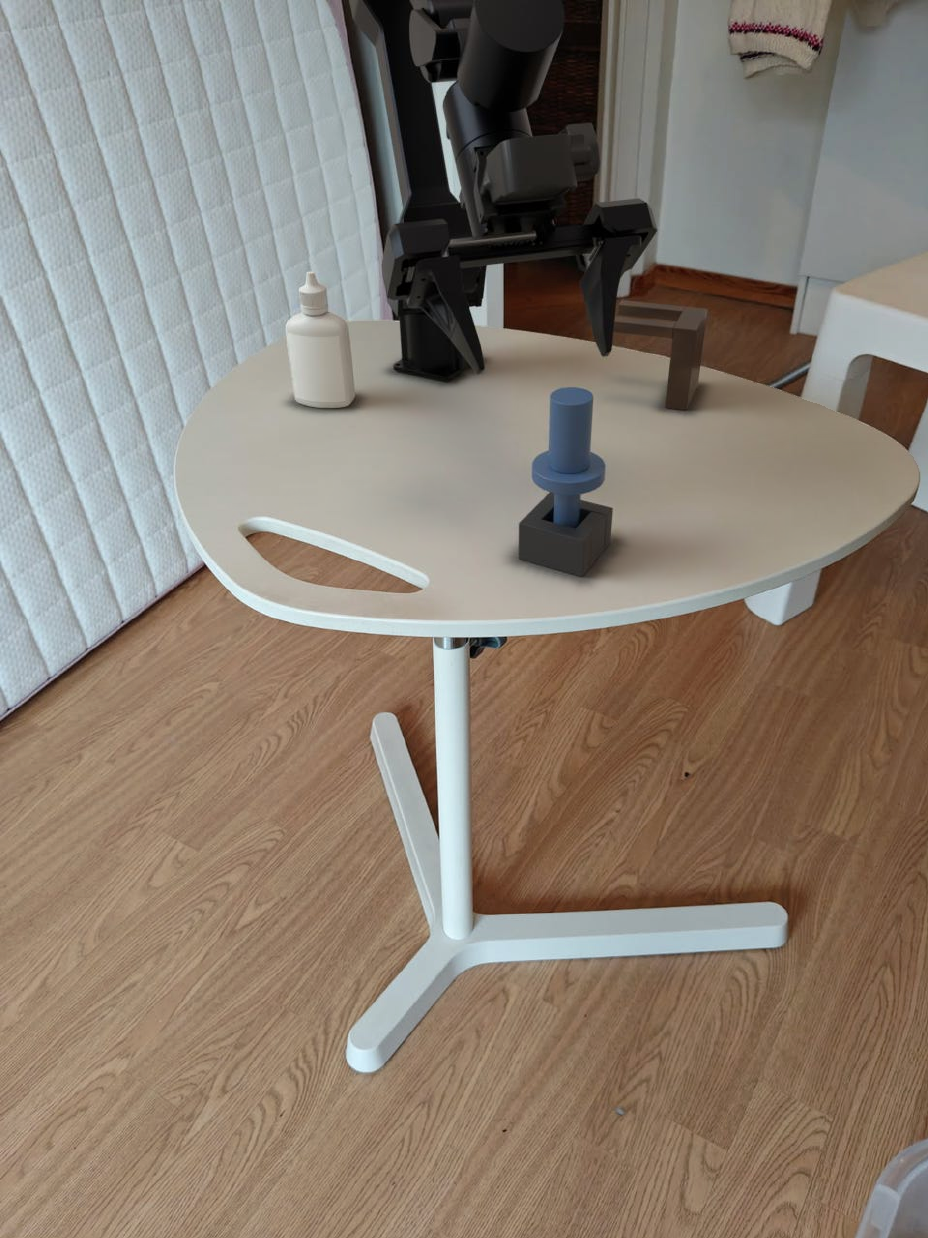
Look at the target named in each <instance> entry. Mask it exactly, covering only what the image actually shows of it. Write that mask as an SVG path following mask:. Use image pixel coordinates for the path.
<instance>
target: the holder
mask: <svg viewBox="0 0 928 1238" xmlns="http://www.w3.org/2000/svg"><path fill="white" fill-rule="evenodd" d="M613 511H614V508H613V507H611V506H607V505H603V504H599V503H596V502H592V501H588V500H584V499H580V513H579V526H578V527H577V528H576V529H575V528H571V527H567V526H564V525H560V524H556V523H553V520H554V493H551V492H548V493H547V494H546V496H544V497H543V498H542V499H541V500H540V501H539V502H538V503H537V504H536V505H535V506H534V507H533V508H532V509H531V510H530V511H529V512H528V513H527V514H526V515H525V517H524V518H522V519H521V520H520V522H519V523H518V560H522V561H525V562H529V563H533V564H535V565H539V566H542V567H547V568H550V569H553V570H556V571H560V572H562V573H563V572H564V573H568V574H570V575H574V576H577V577H582V578H583V577H584V575H586V573H587V572H588V570H589V569H590V568H591V567H593V565H594V564H595V562H596V561H597V560H598V558H599V557H600V556H601V555H602V554H603V553H604V551H605V550H606V549H607V547H609V545H610V544H611V539H612V538H611V537H612V526H613V515H614V513H613Z"/></svg>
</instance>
